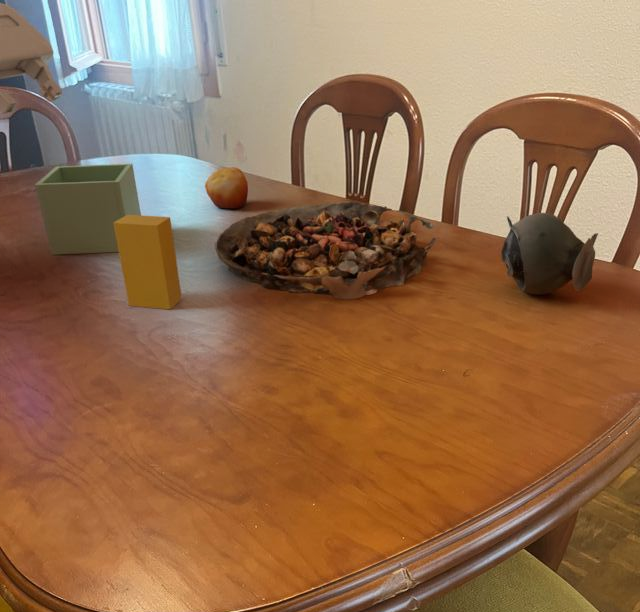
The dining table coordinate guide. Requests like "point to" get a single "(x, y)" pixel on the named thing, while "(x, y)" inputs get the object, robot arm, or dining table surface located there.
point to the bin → (86, 206)
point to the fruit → (227, 188)
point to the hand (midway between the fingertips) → (34, 103)
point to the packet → (148, 261)
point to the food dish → (324, 249)
